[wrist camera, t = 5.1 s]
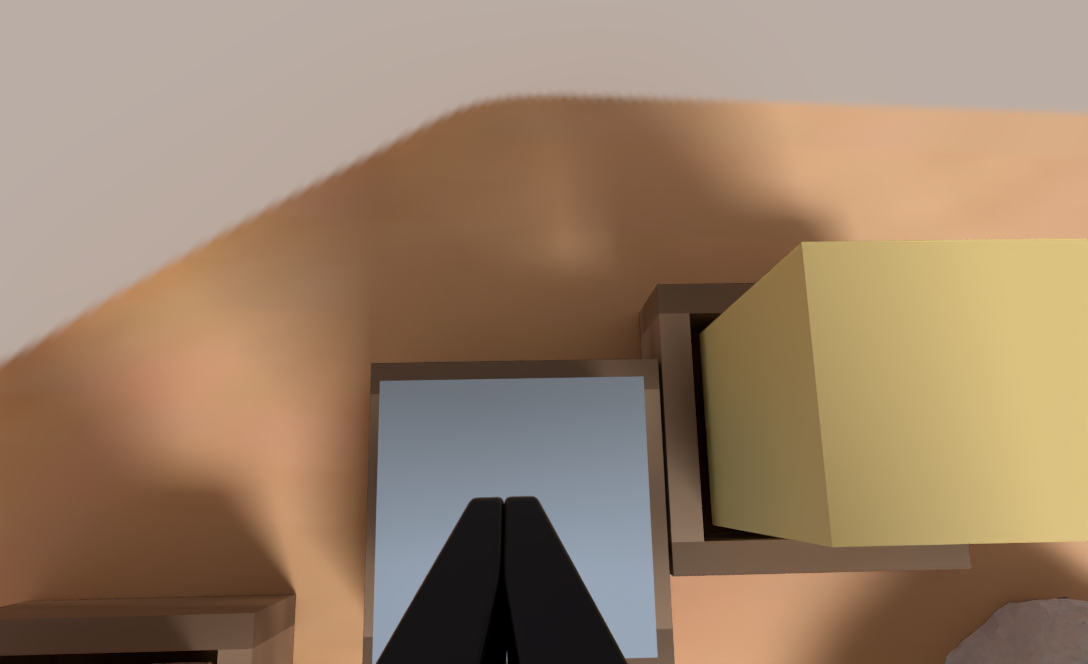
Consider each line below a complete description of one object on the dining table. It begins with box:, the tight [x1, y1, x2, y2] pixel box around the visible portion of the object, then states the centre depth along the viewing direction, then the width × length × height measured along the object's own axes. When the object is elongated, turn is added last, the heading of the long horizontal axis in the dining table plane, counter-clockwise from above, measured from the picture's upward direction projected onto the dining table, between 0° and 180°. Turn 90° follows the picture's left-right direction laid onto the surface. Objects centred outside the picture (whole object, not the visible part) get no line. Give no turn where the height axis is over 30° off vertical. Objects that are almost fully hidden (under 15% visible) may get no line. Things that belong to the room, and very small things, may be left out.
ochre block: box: [700, 238, 1088, 547], centre depth 16 cm, size 5×5×8 cm
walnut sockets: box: [0, 283, 972, 664], centre depth 19 cm, size 15×25×3 cm, turn 91°
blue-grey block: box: [372, 376, 658, 664], centre depth 17 cm, size 5×5×8 cm
